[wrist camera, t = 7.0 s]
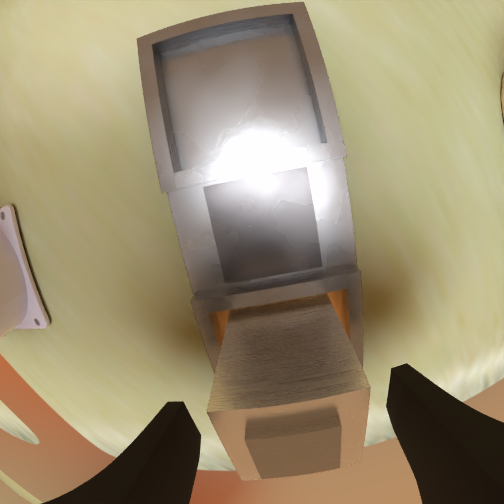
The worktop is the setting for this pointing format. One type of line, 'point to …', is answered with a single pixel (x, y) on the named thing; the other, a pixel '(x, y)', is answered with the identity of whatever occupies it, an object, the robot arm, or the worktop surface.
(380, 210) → the worktop surface
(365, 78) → the worktop surface
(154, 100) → the rail
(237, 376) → the block
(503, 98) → the coffee can
